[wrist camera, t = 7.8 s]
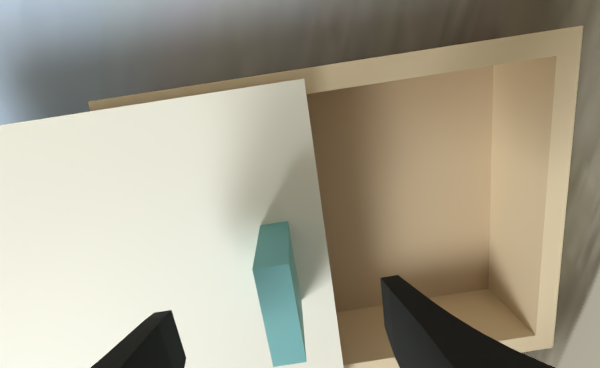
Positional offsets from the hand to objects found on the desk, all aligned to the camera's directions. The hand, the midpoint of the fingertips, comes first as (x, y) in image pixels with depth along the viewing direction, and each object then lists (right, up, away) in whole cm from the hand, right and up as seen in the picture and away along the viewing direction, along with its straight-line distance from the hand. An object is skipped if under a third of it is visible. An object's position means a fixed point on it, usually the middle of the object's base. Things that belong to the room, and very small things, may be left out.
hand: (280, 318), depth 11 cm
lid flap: (-8, 0, +4) cm, 9 cm away
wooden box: (+3, +3, +9) cm, 10 cm away
